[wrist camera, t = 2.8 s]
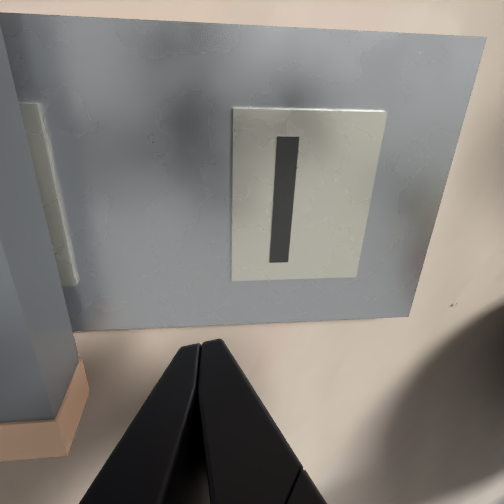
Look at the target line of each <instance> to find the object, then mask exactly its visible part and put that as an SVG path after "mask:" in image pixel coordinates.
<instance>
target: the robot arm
mask: <svg viewBox="0 0 504 504" xmlns="http://www.w3.org/2000/svg"><path fill="white" fill-rule="evenodd" d="M79 504H327V503H326V501H325V500H324V498H323V497H322V495H321V494H320V492H319V491H318V489H317V488H316V486H315V484H314V483H313V481H312V480H311V478H310V477H309V475H308V473H307V472H306V471H305V470H303V466H302V464H301V463H300V461H299V460H298V458H297V457H296V455H295V453H294V452H293V450H292V449H291V447H290V445H289V444H288V442H287V441H286V439H285V438H284V436H283V434H282V433H281V431H280V430H279V428H278V427H277V425H276V423H275V422H274V420H273V419H272V417H271V415H270V414H269V412H268V411H267V409H266V408H265V406H264V404H263V403H262V401H261V400H260V398H259V397H258V395H257V393H256V392H255V390H254V389H253V387H252V385H251V384H250V382H249V381H248V379H247V378H246V376H245V374H244V373H243V371H242V370H241V368H240V367H239V365H238V363H237V362H236V360H235V359H234V357H233V355H232V354H231V352H230V351H229V349H228V348H227V346H226V344H225V343H224V341H223V340H222V339H215V340H211V341H206V342H204V343H203V344H202V345H201V344H199V343H197V344H192V345H187V346H183V347H181V348H180V349H179V350H178V352H177V353H176V355H175V356H174V358H173V359H172V361H171V363H170V364H169V366H168V367H167V369H166V370H165V372H164V373H163V375H162V376H161V378H160V380H159V381H158V383H157V384H156V386H155V387H154V389H153V390H152V392H151V393H150V395H149V396H148V398H147V400H146V401H145V403H144V404H143V406H142V407H141V409H140V410H139V412H138V413H137V415H136V416H135V418H134V420H133V421H132V423H131V424H130V426H129V427H128V429H127V430H126V432H125V433H124V435H123V437H122V438H121V440H120V441H119V443H118V444H117V446H116V447H115V449H114V450H113V452H112V453H111V455H110V457H109V458H108V460H107V461H106V463H105V464H104V466H103V467H102V469H101V470H100V472H99V473H98V475H97V477H96V478H95V480H94V481H93V483H92V484H91V486H90V487H89V489H88V490H87V492H86V494H85V495H84V497H83V498H82V500H81V501H80V503H79Z"/></svg>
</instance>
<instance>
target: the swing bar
mask: <svg viewBox="0 0 504 504" xmlns="http://www.w3.org/2000/svg"><path fill="white" fill-rule="evenodd" d="M89 393H90V390H89V386H88V381H87V377H86V373H85V368H84V364H83V360H82V359H79V357H78V353H77V349H76V344H75V340H74V336H73V332H72V327H71V323H70V319H69V315H68V310H67V306H66V302H65V298H64V293H63V289H62V285H61V281H60V276H59V272H58V268H57V264H56V259H55V255H54V251H53V247H52V242H51V238H50V234H49V230H48V225H47V221H46V217H45V213H44V208H43V204H42V200H41V196H40V191H39V187H38V183H37V179H36V174H35V170H34V166H33V162H32V157H31V153H30V149H29V145H28V140H27V136H26V132H25V128H24V123H23V119H22V115H21V111H20V106H19V102H18V98H17V94H16V89H15V85H14V81H13V77H12V72H11V68H10V64H9V60H8V55H7V51H6V47H5V43H4V38H3V34H2V30H1V26H0V462H4V461H16V460H29V459H41V458H53V457H65V456H68V454H69V451H70V448H71V445H72V442H73V439H74V436H75V433H76V430H77V428H78V425H79V422H80V419H81V416H82V413H83V410H84V407H85V404H86V401H87V399H88V396H89Z"/></svg>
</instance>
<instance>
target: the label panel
mask: <svg viewBox="0 0 504 504" xmlns="http://www.w3.org/2000/svg"><path fill="white" fill-rule="evenodd" d="M0 26H1V30H2V34H3V38H4V43H5V47H6V51H7V55H8V60H9V64H10V68H11V72H12V77H13V81H14V85H15V89H16V94H17V98H18V102H19V106H20V111H21V115H22V119H23V123H24V128H25V132H26V136H27V140H28V145H29V149H30V153H31V157H32V162H33V166H34V170H35V174H36V179H37V183H38V187H39V191H40V196H41V200H42V204H43V208H44V213H45V217H46V221H47V225H48V230H49V234H50V238H51V242H52V247H53V251H54V255H55V259H56V264H57V268H58V272H59V276H60V281H61V285H62V289H63V293H64V298H65V302H66V306H67V310H68V315H69V319H70V323H71V327H72V332H74V331H96V330H119V329H142V328H164V327H187V326H210V325H232V324H255V323H278V322H300V321H323V320H346V319H368V318H391V317H409V313H410V310H411V306H412V302H413V299H414V295H415V292H416V288H417V285H418V281H419V277H420V274H421V270H422V267H423V263H424V260H425V256H426V253H427V249H428V245H429V242H430V238H431V235H432V231H433V228H434V224H435V220H436V217H437V213H438V210H439V206H440V203H441V199H442V196H443V192H444V188H445V185H446V181H447V178H448V174H449V171H450V167H451V163H452V160H453V156H454V153H455V149H456V146H457V142H458V139H459V135H460V131H461V128H462V124H463V121H464V117H465V114H466V110H467V106H468V103H469V99H470V96H471V92H472V89H473V85H474V82H475V78H476V74H477V71H478V67H479V64H480V60H481V57H482V53H483V49H484V46H485V42H486V39H487V37H475V36H455V35H435V34H416V33H396V32H376V31H356V30H337V29H317V28H297V27H277V26H257V25H238V24H218V23H198V22H178V21H159V20H139V19H119V18H99V17H80V16H60V15H40V14H20V13H1V12H0Z"/></svg>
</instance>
